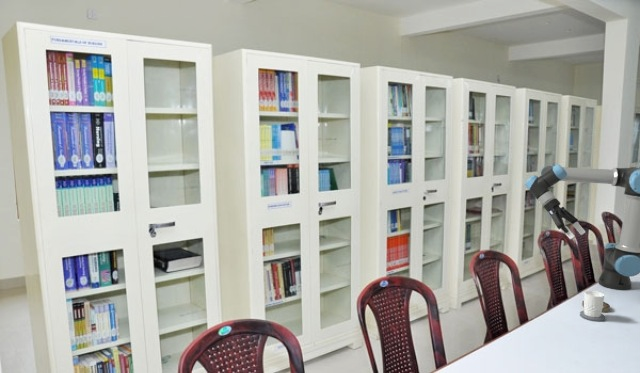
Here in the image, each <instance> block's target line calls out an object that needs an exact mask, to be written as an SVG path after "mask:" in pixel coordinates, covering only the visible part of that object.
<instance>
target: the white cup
mask: <svg viewBox="0 0 640 373" xmlns="http://www.w3.org/2000/svg"><path fill="white" fill-rule="evenodd" d="M604 299H605V294H604V293H603V292H600V291H596V290H585V291H584V292H583V301H584V307H583V311H584V314H585V315H587V316H590V317H597V318H598V317H601V314H603V312H602V307H603V302H605V300H604Z"/></svg>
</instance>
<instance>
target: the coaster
mask: <svg viewBox="0 0 640 373" xmlns="http://www.w3.org/2000/svg"><path fill="white" fill-rule="evenodd" d="M579 316H580V317H581V318H582V319H584V320H588V321H590V322H605V321H606V315H605V314H603V313H601V317H598V318H597V317H590V316H587V315H585V314H584V310H582V311H580V312H579Z"/></svg>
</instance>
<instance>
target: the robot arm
mask: <svg viewBox="0 0 640 373" xmlns="http://www.w3.org/2000/svg"><path fill="white" fill-rule="evenodd" d="M559 182H573V183H575V182H576V183H589V184H604V185H605V184H607V185H611V186H613V187H621V188H624V192H623V193H624V194H623V195H624V196H625V197H626V201H625V202H626V203H625V208H624V213H623V214H624V215H623V221H622V224H621V232H620V237H619V243H618V242H617V243H616V242H609V243H606V244H605V246H604V256H603V258H604V259H603V269H602V271H601V272H600V276H599V278H598V284H599V285H600V286H602V287H605V288H607V289H613V290H622V291H624V290H625V291H627V290H630V289H632V281H631V278H630V277H635V276H637V275H639V274H640V168H639V167H614V168H612V169H606V168H605V169H604V168H587V167H570V166H569V167H565V166H564V167H563V166H561V165H560V164H556V165H554V166H551V165H546V166H545V165H544V167H542V168H541V170H540V175H539V176H537V175H536V174H535V175H532V176H531V177H529V178H527V180H526V181H525V182H524V186H526V188H527V189H528V190H529V192H530V193H531V194H532V196H534V197H535V199H536V200H537V202H538V203H539V204H540V205H541V206H543V208H544V209H545V211H546V212H547V213H548V214H549V215H550V218H551V219H552V221H553V222H554V225H555V226H556V228H557V229H558V230H560V229H561V231H562V232H563V233H564V234H565V235H566V236H567V237H568V239H569V240H572V239H574V237H576V235H575V234H574V233H573V231H572V230H570V228H569V227H568V226H567V225H566V224H565V223H564V220H563V219H565V220H566V221H567V222H569V223H570V224H571V225H572V226H573V228H574V229H575V230H576V231H577V232H578V233H579V235H581V236H583V235H584V234H585V233H586V230H585V229H584V228H583V227H582V226H581V225H580V223H579V222H578V221H579V219H578V218H577V217H575V216H574V215H573V214H572V213H571V212H570V211H568V210H567V209H566V208H565V207H564V206H562V207H560V206H561V202H560V201H559V199H558V198H556V196H555V195H554V194H553V192H552V191H550V190H549V189H550V188H551V187H553V186H554V185H555V184H557V183H559Z"/></svg>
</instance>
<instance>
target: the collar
mask: <svg viewBox="0 0 640 373" xmlns="http://www.w3.org/2000/svg"><path fill="white" fill-rule="evenodd" d="M581 303H582V304H581V306H582V307H583V308H584V300H582V302H581ZM610 311H611V306H610V304H609V303H607V302H605V301H603V307H602V313H609V312H610Z"/></svg>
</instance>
